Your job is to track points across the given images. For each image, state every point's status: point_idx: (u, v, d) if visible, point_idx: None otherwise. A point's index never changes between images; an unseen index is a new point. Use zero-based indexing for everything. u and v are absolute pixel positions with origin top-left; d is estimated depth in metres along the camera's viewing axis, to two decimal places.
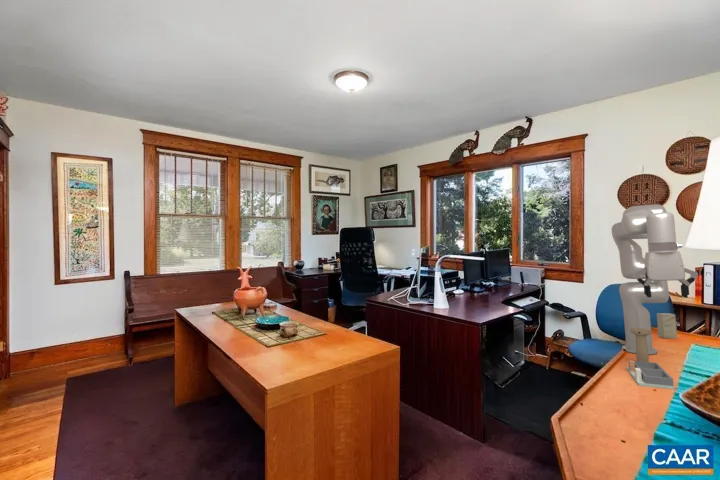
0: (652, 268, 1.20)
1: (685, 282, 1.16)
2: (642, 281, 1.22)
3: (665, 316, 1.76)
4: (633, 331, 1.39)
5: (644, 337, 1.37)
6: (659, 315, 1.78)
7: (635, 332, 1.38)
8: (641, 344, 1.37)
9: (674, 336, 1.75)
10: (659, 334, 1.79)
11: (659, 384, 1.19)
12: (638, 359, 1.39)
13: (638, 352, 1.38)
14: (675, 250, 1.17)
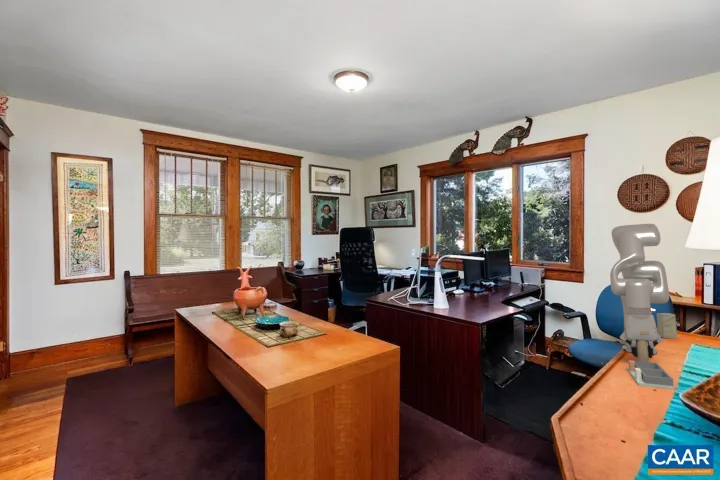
0: (630, 329, 1.39)
1: (651, 344, 1.36)
2: (629, 342, 1.40)
3: (665, 316, 1.76)
4: None
5: None
6: (659, 315, 1.78)
7: None
8: (642, 344, 1.37)
9: (674, 336, 1.75)
10: (659, 334, 1.79)
11: (659, 384, 1.19)
12: (638, 359, 1.39)
13: (638, 352, 1.38)
14: (649, 315, 1.36)
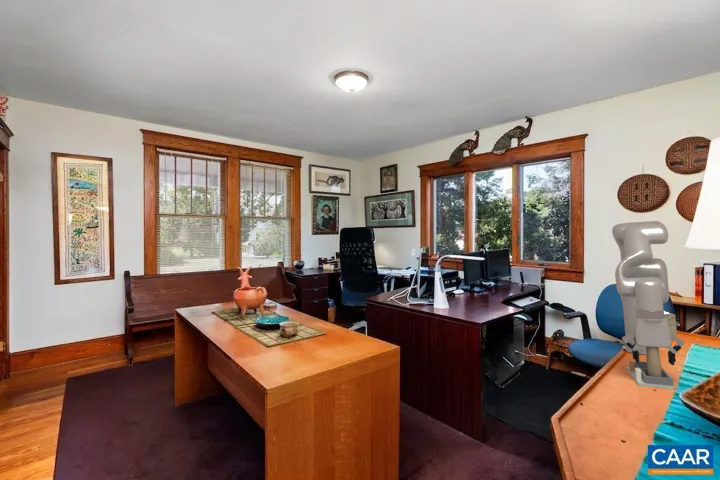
0: (640, 335, 1.23)
1: (672, 350, 1.20)
2: (630, 346, 1.25)
3: (665, 316, 1.76)
4: None
5: None
6: None
7: None
8: (653, 353, 1.22)
9: (674, 336, 1.75)
10: None
11: (659, 384, 1.19)
12: (649, 371, 1.23)
13: (649, 363, 1.23)
14: (662, 318, 1.20)
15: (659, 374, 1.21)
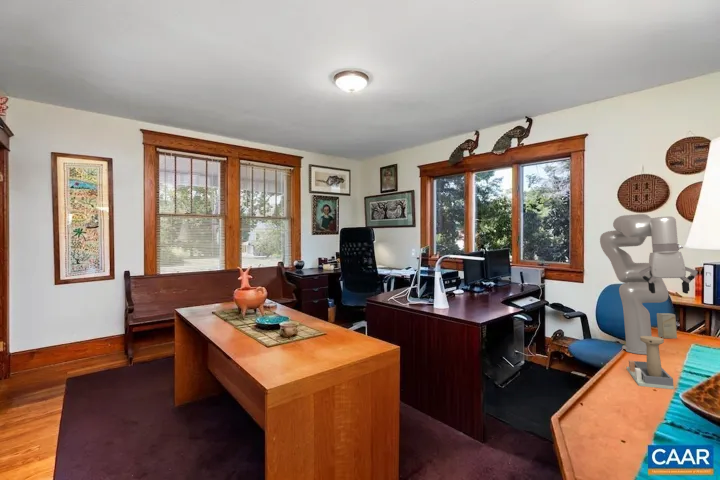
0: (656, 267, 1.33)
1: (686, 279, 1.29)
2: (647, 278, 1.35)
3: (665, 316, 1.76)
4: (644, 339, 1.24)
5: (656, 346, 1.22)
6: (659, 315, 1.78)
7: (646, 341, 1.23)
8: (653, 354, 1.22)
9: (674, 336, 1.75)
10: (659, 334, 1.79)
11: (659, 384, 1.19)
12: (649, 371, 1.23)
13: (649, 363, 1.23)
14: (677, 250, 1.30)
15: (659, 374, 1.21)
